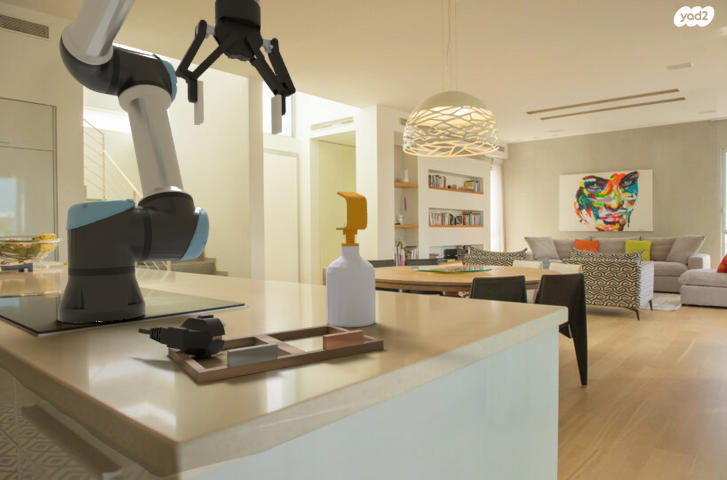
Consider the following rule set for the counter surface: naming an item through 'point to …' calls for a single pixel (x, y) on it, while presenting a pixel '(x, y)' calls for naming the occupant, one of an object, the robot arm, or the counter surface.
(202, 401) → the counter surface
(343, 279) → the soap bottle
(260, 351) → the strip
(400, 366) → the counter surface
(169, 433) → the counter surface
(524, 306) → the counter surface
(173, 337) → the power plug
